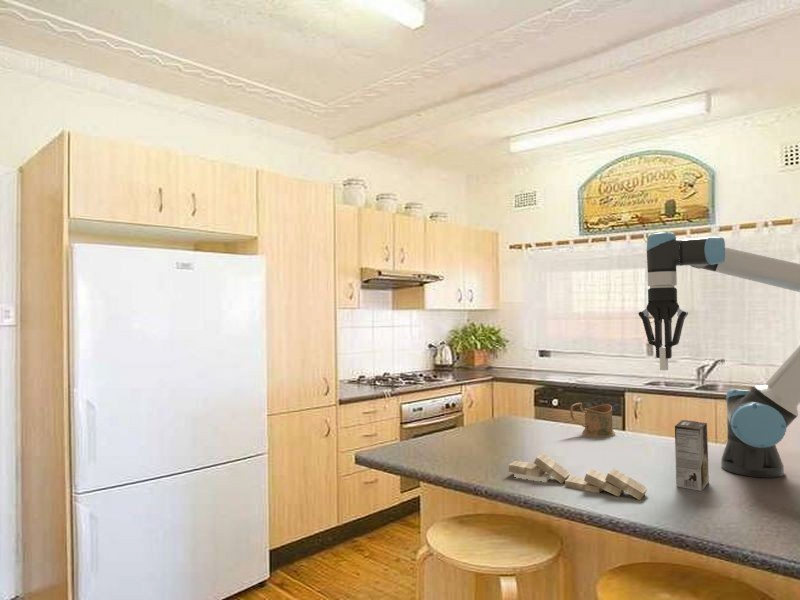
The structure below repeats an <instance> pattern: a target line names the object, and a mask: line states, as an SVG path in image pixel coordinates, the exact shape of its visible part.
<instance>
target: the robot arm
mask: <svg viewBox="0 0 800 600" xmlns="http://www.w3.org/2000/svg"><path fill="white" fill-rule="evenodd" d="M646 239H647V240H646V263H647V264H646V265H647V267H646V268H647V287H649V288H648V289H647V304H646V309H643V310H642V311H638V316H639V317H640V319H641V320H642V323H643V329H644V332H645V334H646V335H645V336H646V338H647V342H648V345H651V346H654V347H655V358H656V359H659V371H664V372H665V371H668V370H669V359H671V358H672V356H673V354H672V353H673V352H672V347H674V346H677V345H679V344H680V339H681V335H682V332H683V331H682V330H683V327H684V322H685V319H686V318H687V316H688V315H689V312H688V311H687V310H684V309H682V308H681V307H680V305H679V303H678V289H677V287H675V286H677V282H678V280H677V279H678V277H677V275H678V274H677V266H678V267H679V266H680V267H681V266H690V267H692V268H695V269H703V270H706V271H711V272H715V273H720V274H724V275H728V276H732V277H736V278H739V279H744V280H748V281H753V282H756V283H760V284H764V285H768V286H773V287H777V288H781V289H785V290H789V291H793V292H796V293H797V292H798V293H800V263H798V262H793V261H787V260H784V259H779V258H774V257H769V256H766V255H761V254H756V253H752V252H747V251H743V250H738V249H735V248H734V249H733V248H731V247H730V248H729V247H726V241H725V238H724V237H722V236H707V237H695V238H694V237H693V238H684V239H683V238H680V239H679V238H677V236H676V233H675V232H656V233H651V234H649V235H648V236H647V237H646ZM676 314H677V320H676V323H675V327H674V332H673V333H672V322H673V318H674V317H675V315H676ZM650 316H651V317H652V319H653V323H654V331H653V329H652V324H651V321H650V318H649V317H650ZM662 323H663V324H664V346H663V327H662V326H663V324H662ZM672 335H673V336H672ZM725 401H726V420H727V422H726V425H727V429H726V430H727V431H726V432H727V441H726V444H725V448H724V449H723V453H722V456H721V459H720V460H721V462H720V463H721V465H720V466H721V468H722V469H723V470H725V471H727V472H729V473H733V474H737V475H739V476H740V475H741V476H746V477H755V478H768V479H771V478H779V477H783V476H784V475H785V473H784V472H785V467H784V463H783V460H782V459H781V455H780V454H779V451H778V448H777V444H779V443H780V442H781V441H782V440H783V439H784V436H785V435H786V432H787V428H788V427H789V426H790V425H791V424H792V423H793V422H794V420H795V419H796V418H797V417H798V416H799V412H798V406H799V405H800V345H799V346H797V348H796V349H794V351H793V352H792V353H791V354H790V356H788V358H787V359H786V360H785V361H784V362H783V363H782V364H781V365H780V366H779V368H778V369H777V370H776V371H775V372H774V373H773V374H772V375H771V376H770V377H769V379H768V380H767V381H766V382H765V383H764V384H757V385H754V386H753V387H752V388H751V389H733V388H732V389H728V390H727V391H726V397H725Z"/></svg>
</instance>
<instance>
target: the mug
mask: <svg viewBox="0 0 800 600" xmlns="http://www.w3.org/2000/svg"><path fill="white" fill-rule="evenodd" d="M575 406H579V409H580V411H581V412H583V413H584V424H583V423H582V422H580V421H577V420H576V419H575V417H574V414H573V413H574V407H575ZM569 408H570V409H569V410H570V412H569V413H570V418H571V420H572V421H573V422H575V423H578V424H580V425H581V426H582V427H583V428H584V429H583V430H582V434H583V435H585V436H586V437H593V438H613V437H615V436H616V432H614V430H613V407H612V405H611V404H600V405H596V406H593V407H585V408H583V403H582V402H577V403H574V404H572V405H570V407H569Z"/></svg>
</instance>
